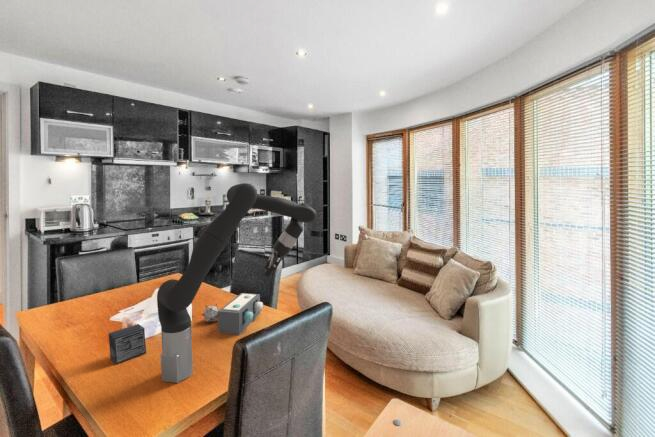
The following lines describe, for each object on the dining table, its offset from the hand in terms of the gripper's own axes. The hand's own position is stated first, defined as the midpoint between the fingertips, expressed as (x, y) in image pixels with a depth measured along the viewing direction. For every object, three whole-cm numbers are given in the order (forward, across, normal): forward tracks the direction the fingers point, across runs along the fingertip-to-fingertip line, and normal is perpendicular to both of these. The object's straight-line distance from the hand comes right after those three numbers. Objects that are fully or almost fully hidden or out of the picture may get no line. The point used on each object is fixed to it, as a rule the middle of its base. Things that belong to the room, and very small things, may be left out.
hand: (266, 272), depth 144 cm
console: (+29, -5, +4) cm, 30 cm away
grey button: (+21, -8, +9) cm, 25 cm away
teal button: (+23, +3, +5) cm, 24 cm away
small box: (+49, +18, -30) cm, 61 cm away
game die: (+37, -8, -7) cm, 38 cm away
